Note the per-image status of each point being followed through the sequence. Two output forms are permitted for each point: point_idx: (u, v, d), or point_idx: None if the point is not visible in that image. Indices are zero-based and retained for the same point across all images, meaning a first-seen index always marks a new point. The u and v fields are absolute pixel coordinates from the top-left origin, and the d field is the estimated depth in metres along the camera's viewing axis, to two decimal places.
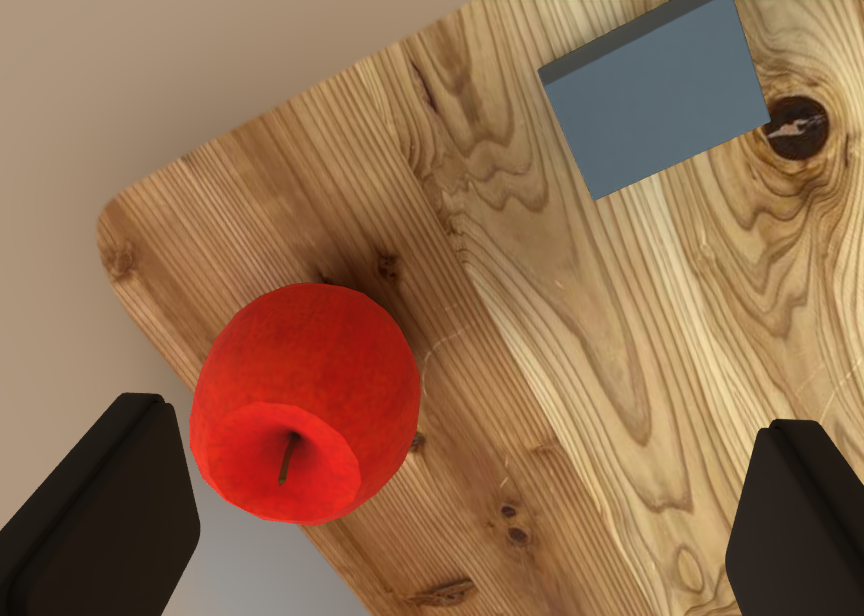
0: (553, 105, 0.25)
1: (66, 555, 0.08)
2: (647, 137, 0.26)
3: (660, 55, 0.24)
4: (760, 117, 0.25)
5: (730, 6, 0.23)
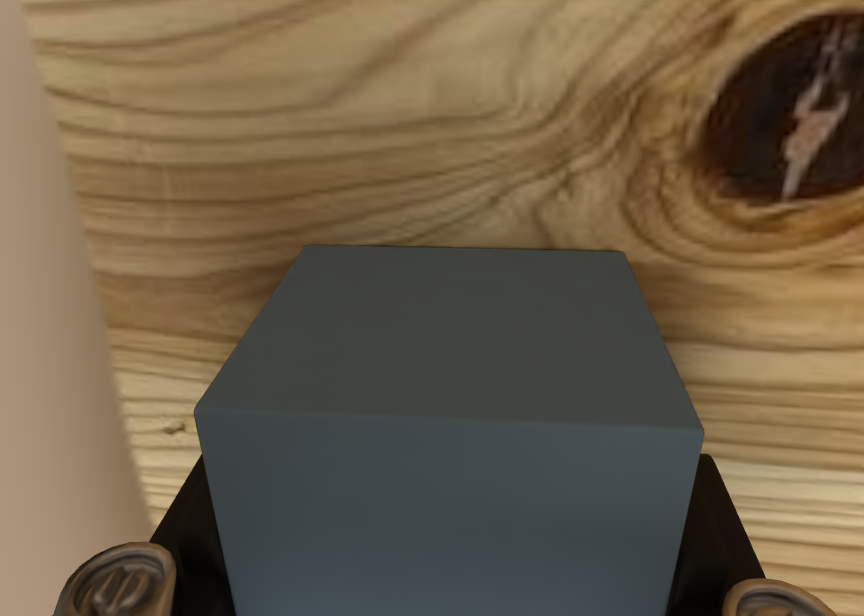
0: None
1: None
2: None
3: (307, 610, 0.08)
4: (666, 457, 0.06)
5: (239, 426, 0.07)
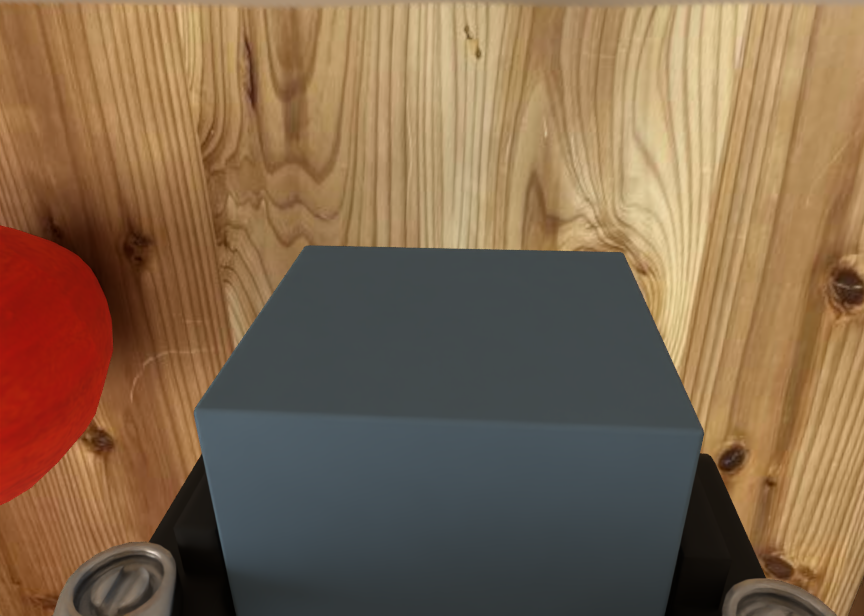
0: None
1: None
2: None
3: (307, 611, 0.08)
4: (665, 458, 0.06)
5: (239, 427, 0.07)
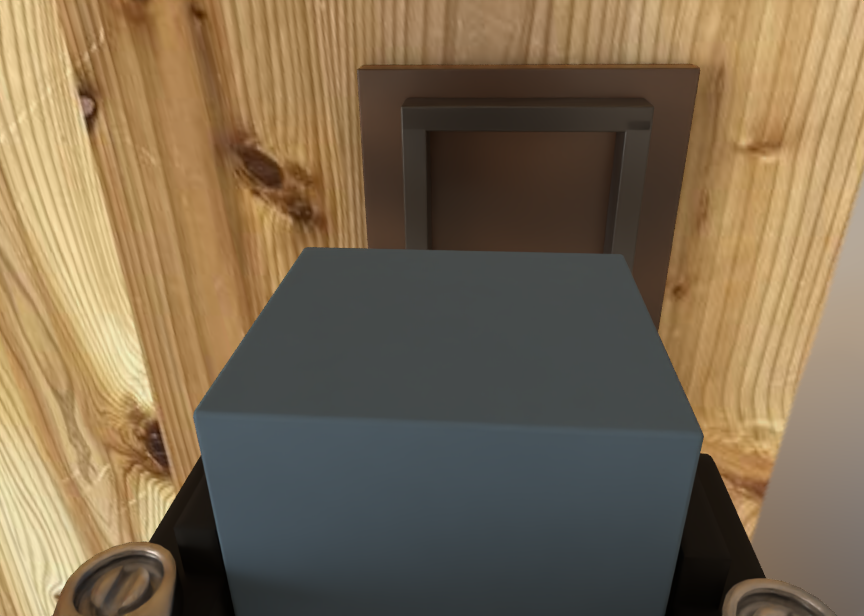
0: None
1: None
2: None
3: (307, 613, 0.08)
4: (664, 461, 0.06)
5: (239, 430, 0.07)
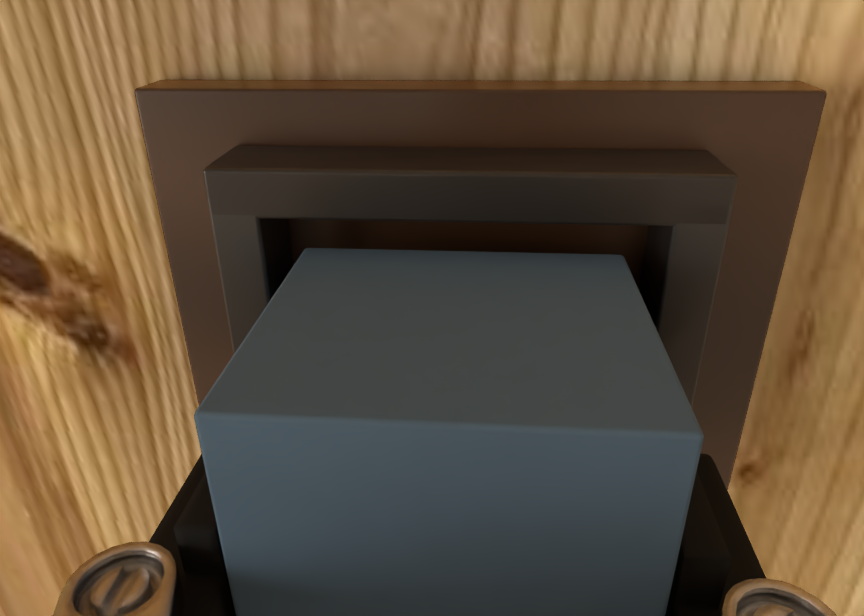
0: None
1: None
2: None
3: (307, 613, 0.08)
4: (665, 461, 0.06)
5: (240, 430, 0.07)
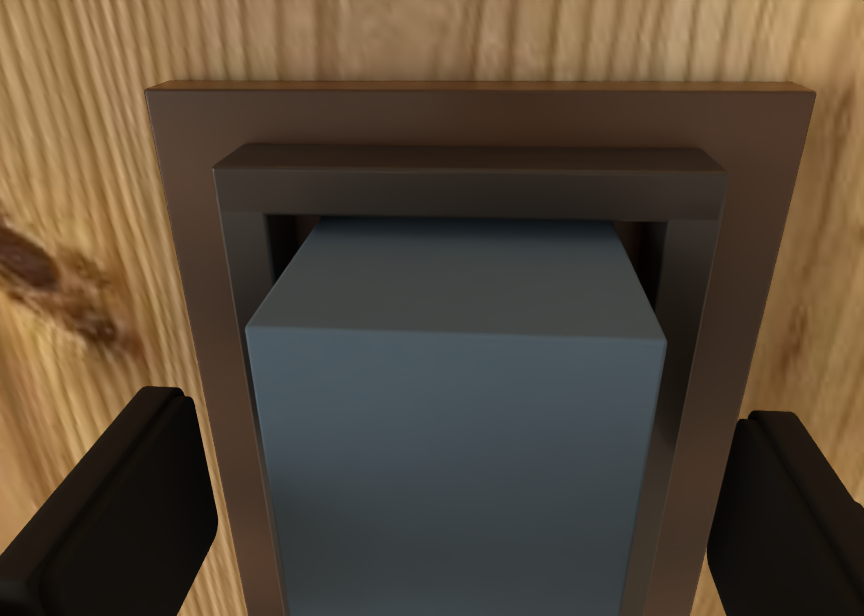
0: None
1: (95, 543, 0.08)
2: (518, 592, 0.10)
3: (334, 509, 0.09)
4: (635, 364, 0.08)
5: (283, 341, 0.08)
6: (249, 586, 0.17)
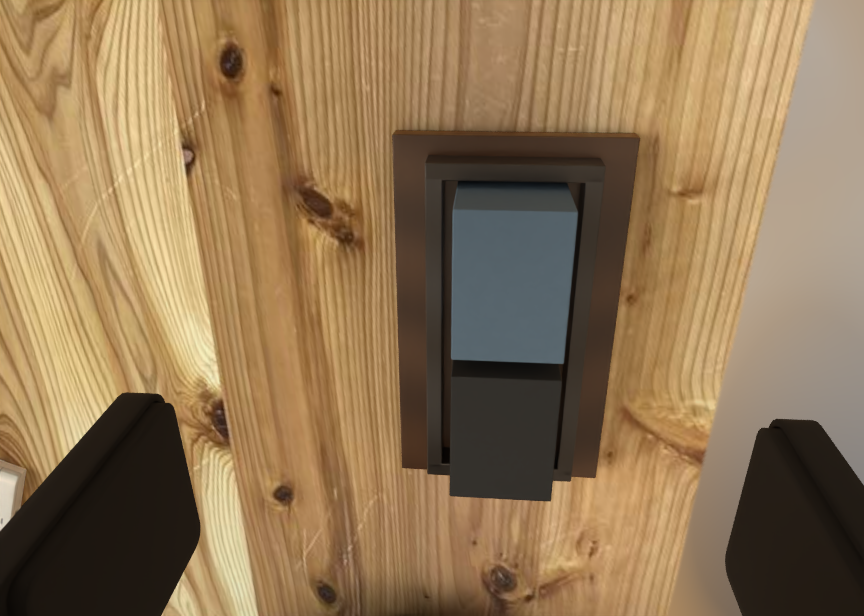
0: (469, 359, 0.30)
1: (66, 555, 0.08)
2: (533, 307, 0.28)
3: (473, 275, 0.28)
4: (569, 219, 0.27)
5: (464, 213, 0.27)
6: (402, 363, 0.35)
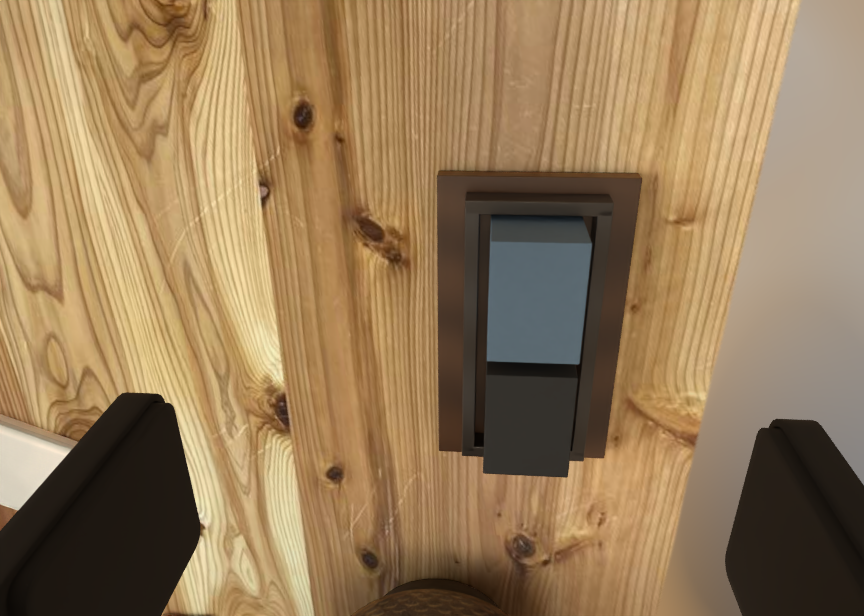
0: (501, 361, 0.36)
1: (66, 554, 0.08)
2: (555, 319, 0.35)
3: (506, 293, 0.34)
4: (584, 249, 0.33)
5: (500, 245, 0.33)
6: (441, 363, 0.42)
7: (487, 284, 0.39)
